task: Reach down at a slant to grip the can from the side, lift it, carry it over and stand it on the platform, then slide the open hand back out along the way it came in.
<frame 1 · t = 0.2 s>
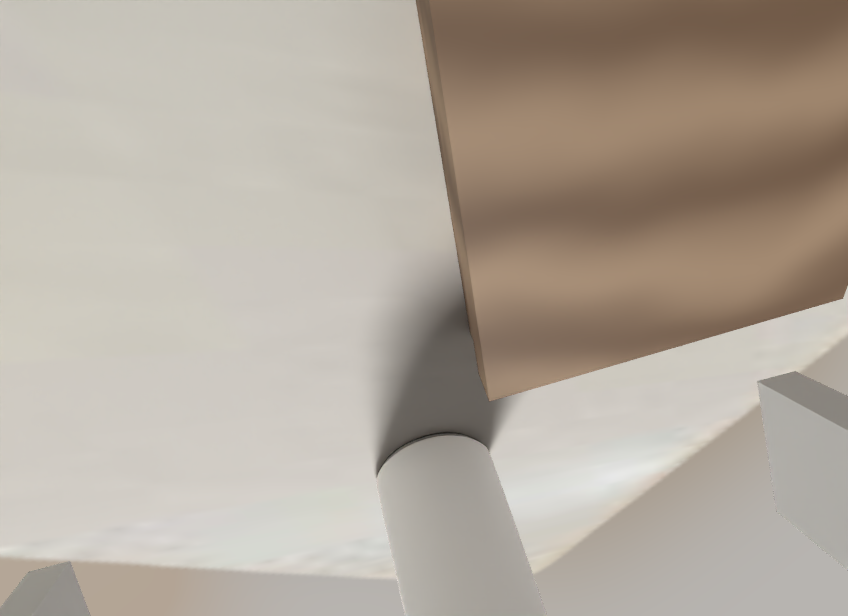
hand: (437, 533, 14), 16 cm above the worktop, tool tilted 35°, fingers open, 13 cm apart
can: (431, 462, 41), on the worktop
platform: (640, 121, 28), on the worktop
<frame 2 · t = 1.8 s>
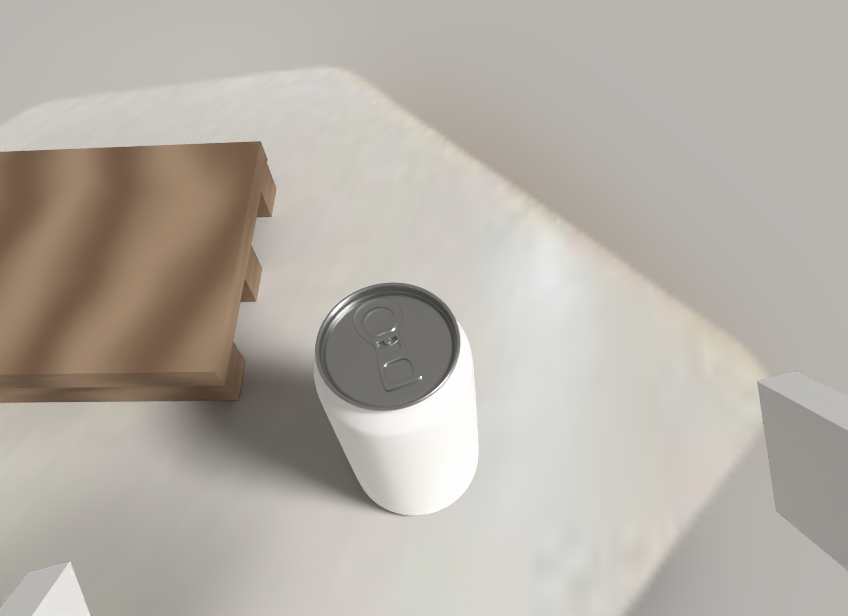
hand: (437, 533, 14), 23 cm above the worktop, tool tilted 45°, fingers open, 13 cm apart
can: (416, 458, 39), on the worktop
platform: (117, 287, 46), on the worktop
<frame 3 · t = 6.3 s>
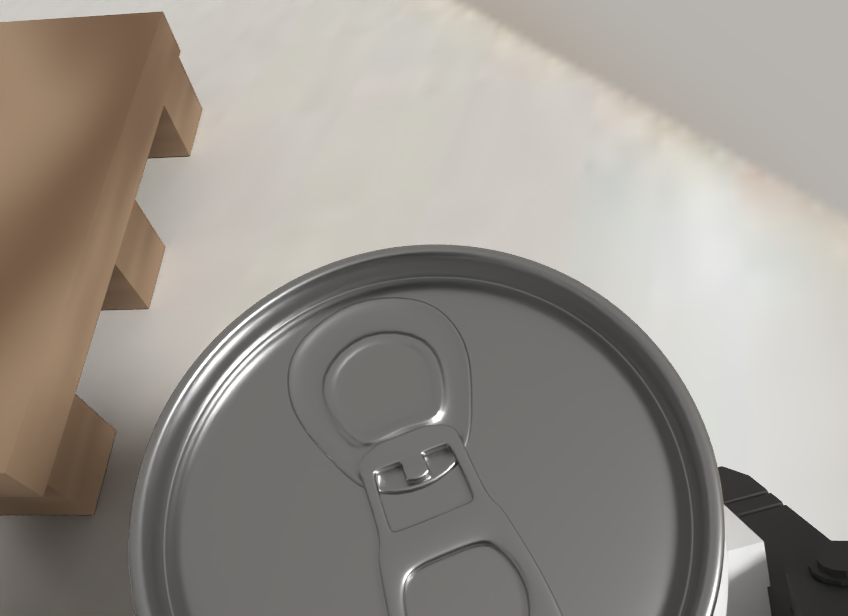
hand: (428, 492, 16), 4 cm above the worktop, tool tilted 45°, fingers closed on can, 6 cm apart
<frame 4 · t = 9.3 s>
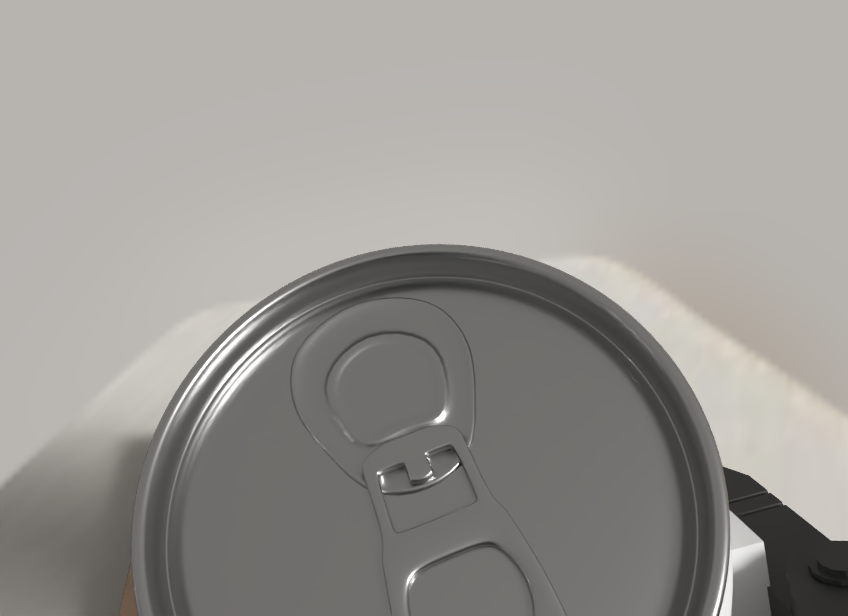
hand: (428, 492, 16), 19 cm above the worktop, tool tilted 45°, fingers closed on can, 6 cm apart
when the fingers open (8 cm above the worktop, at t = 12.6 s): can stays where it is, resting on platform.
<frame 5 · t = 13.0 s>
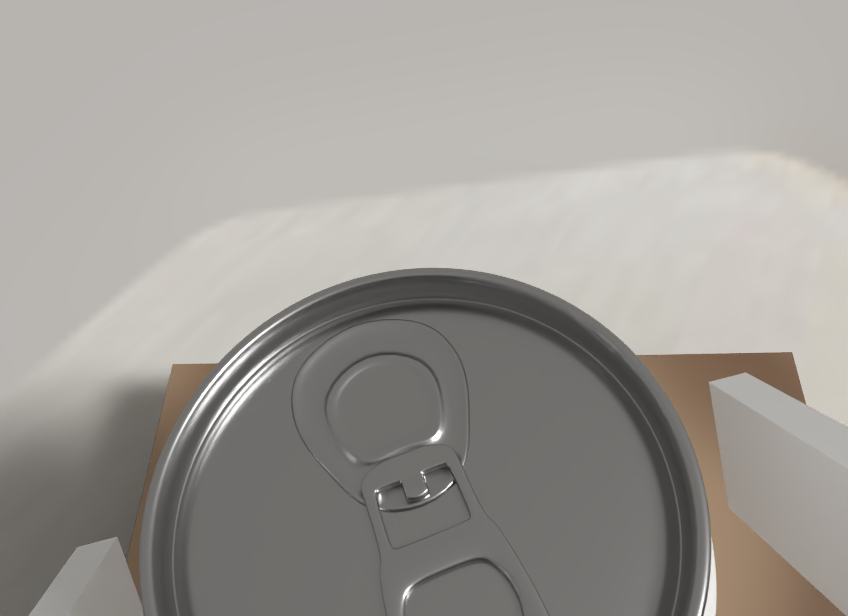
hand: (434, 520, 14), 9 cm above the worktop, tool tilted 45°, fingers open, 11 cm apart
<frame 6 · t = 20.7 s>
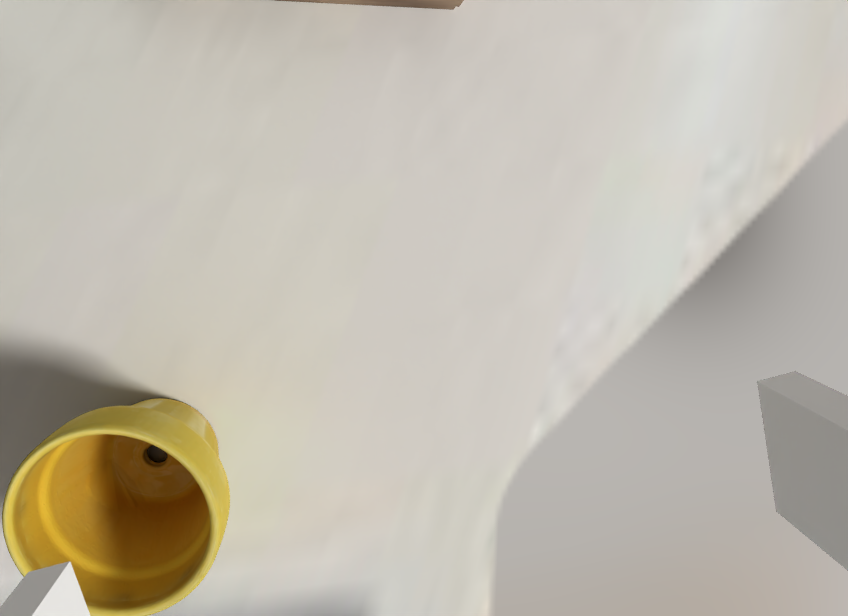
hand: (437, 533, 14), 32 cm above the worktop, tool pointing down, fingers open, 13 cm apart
plant pot: (162, 449, 46), on the worktop
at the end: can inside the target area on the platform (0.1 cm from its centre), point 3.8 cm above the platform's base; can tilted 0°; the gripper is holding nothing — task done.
